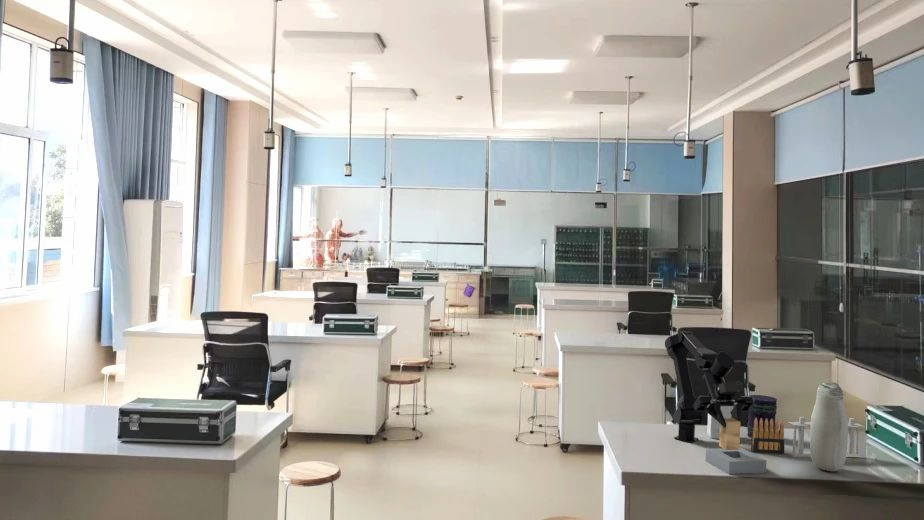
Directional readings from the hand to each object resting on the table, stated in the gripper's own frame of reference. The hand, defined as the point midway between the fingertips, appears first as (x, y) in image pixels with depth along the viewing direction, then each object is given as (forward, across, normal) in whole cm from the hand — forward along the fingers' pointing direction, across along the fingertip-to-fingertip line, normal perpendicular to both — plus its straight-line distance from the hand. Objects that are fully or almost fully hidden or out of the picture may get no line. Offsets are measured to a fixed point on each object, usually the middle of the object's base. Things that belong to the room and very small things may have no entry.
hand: (732, 426), depth 211 cm
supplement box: (-16, +15, +35) cm, 41 cm away
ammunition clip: (-2, +23, +21) cm, 31 cm away
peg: (+4, 0, +6) cm, 7 cm away
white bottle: (+11, +32, +8) cm, 35 cm away
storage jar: (-15, +31, +34) cm, 49 cm away
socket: (+8, +2, +11) cm, 14 cm away
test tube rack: (+1, +42, +19) cm, 46 cm away
